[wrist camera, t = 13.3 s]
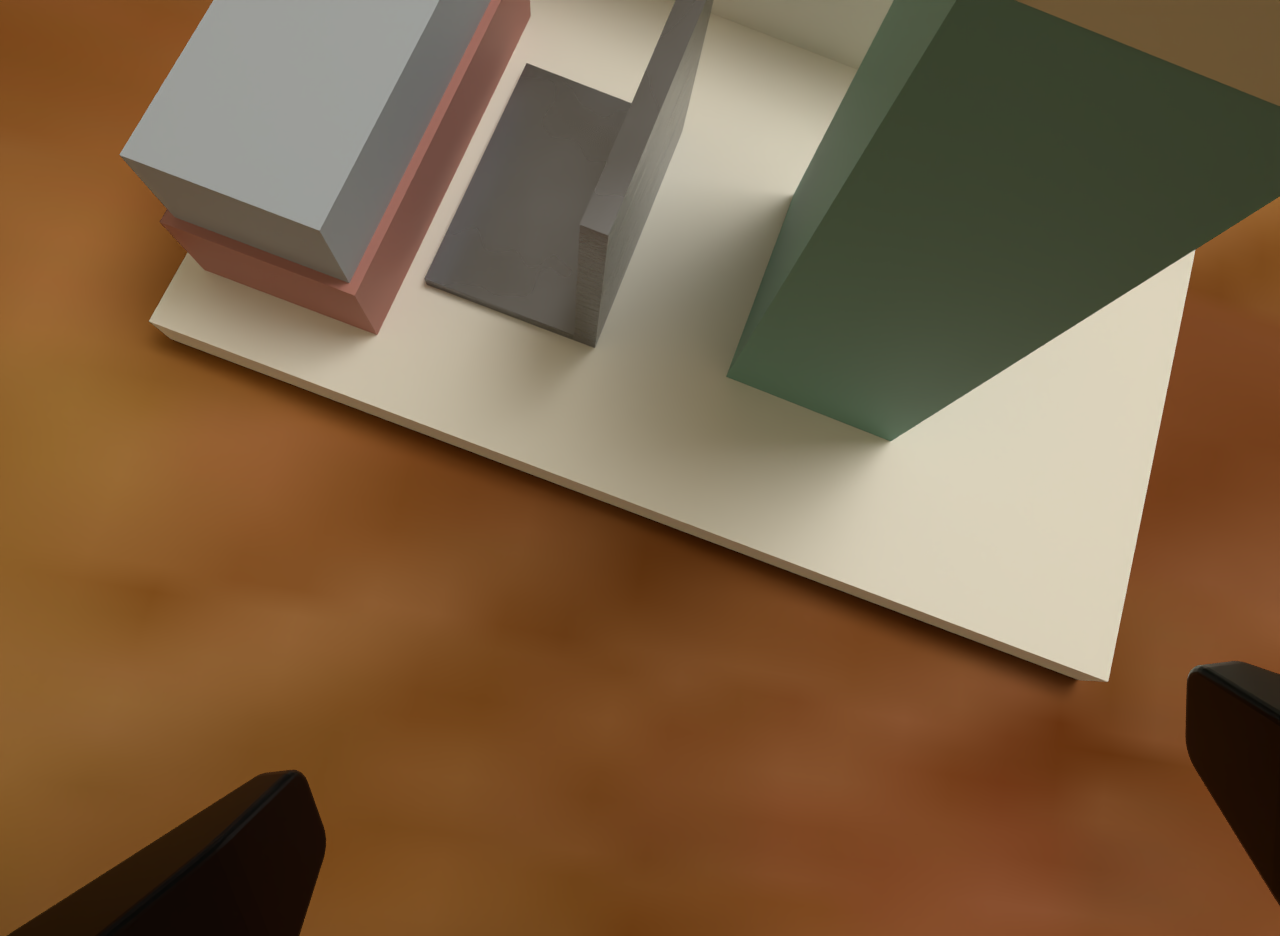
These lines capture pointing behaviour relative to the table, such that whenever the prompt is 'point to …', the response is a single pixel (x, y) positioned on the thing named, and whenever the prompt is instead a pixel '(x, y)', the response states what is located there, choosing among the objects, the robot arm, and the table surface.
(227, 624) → the table surface
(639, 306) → the cream piece
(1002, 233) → the green box
